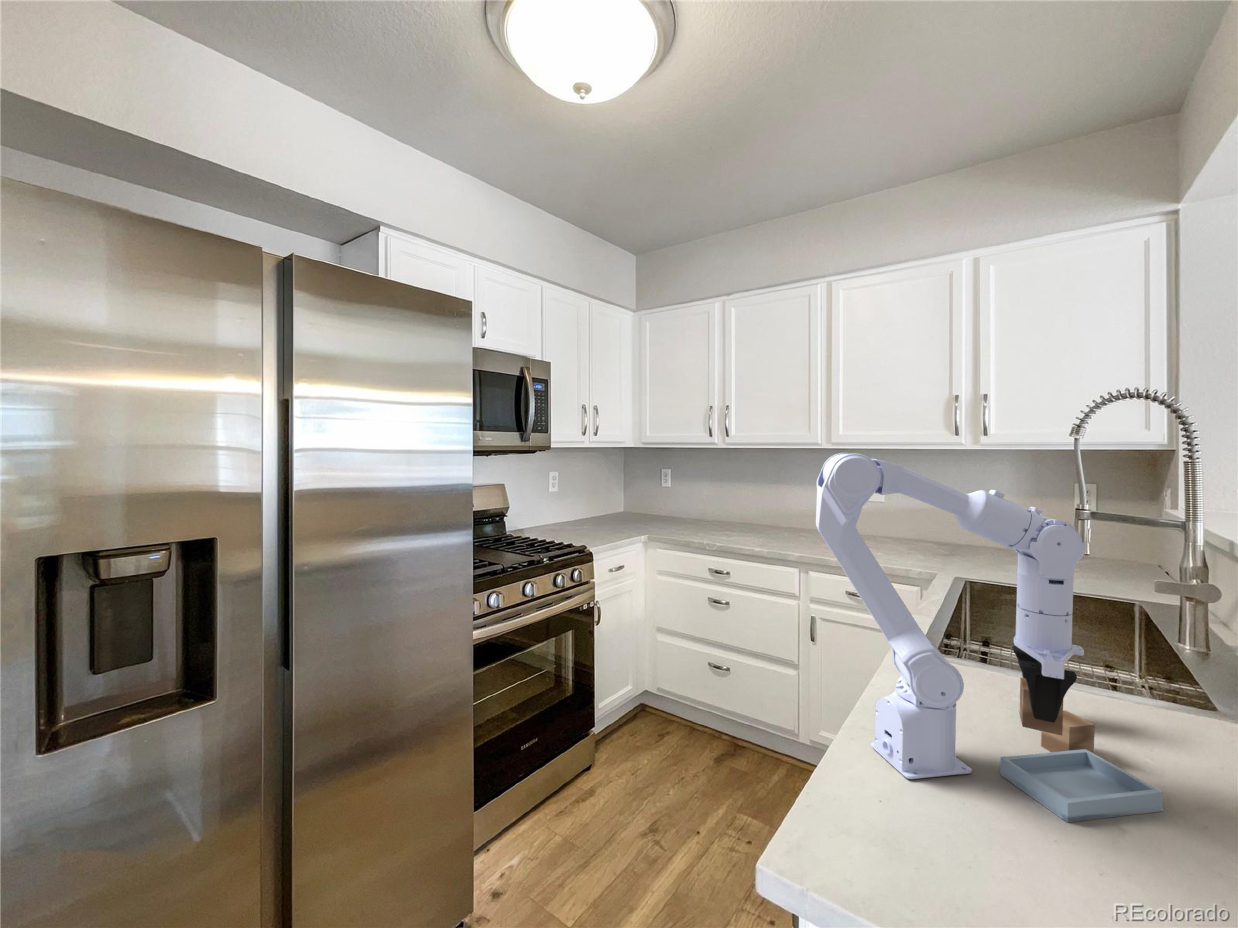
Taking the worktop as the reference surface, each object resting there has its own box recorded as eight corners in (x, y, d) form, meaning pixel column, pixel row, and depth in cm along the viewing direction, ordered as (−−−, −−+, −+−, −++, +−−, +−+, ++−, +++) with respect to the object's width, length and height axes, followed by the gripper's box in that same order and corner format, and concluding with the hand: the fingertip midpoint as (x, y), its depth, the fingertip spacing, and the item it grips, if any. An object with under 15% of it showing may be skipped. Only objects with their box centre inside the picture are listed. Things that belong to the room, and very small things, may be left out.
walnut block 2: (1068, 762, 72) (1069, 726, 72) (1041, 746, 76) (1041, 712, 76) (1093, 760, 73) (1094, 724, 73) (1065, 744, 77) (1066, 710, 77)
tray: (1067, 822, 61) (1067, 802, 61) (1000, 774, 70) (1000, 757, 70) (1162, 810, 63) (1163, 791, 63) (1085, 765, 72) (1085, 748, 71)
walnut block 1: (1062, 735, 67) (1063, 696, 67) (1022, 726, 69) (1023, 688, 69) (1057, 721, 70) (1058, 684, 70) (1019, 713, 72) (1020, 677, 72)
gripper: (1099, 631, 61) (1095, 747, 61) (1070, 599, 73) (1068, 696, 74) (1022, 620, 64) (1019, 730, 65) (1008, 592, 77) (1005, 684, 77)
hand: (1041, 711), depth 69 cm, fingers closed on walnut block 1, 4 cm apart
